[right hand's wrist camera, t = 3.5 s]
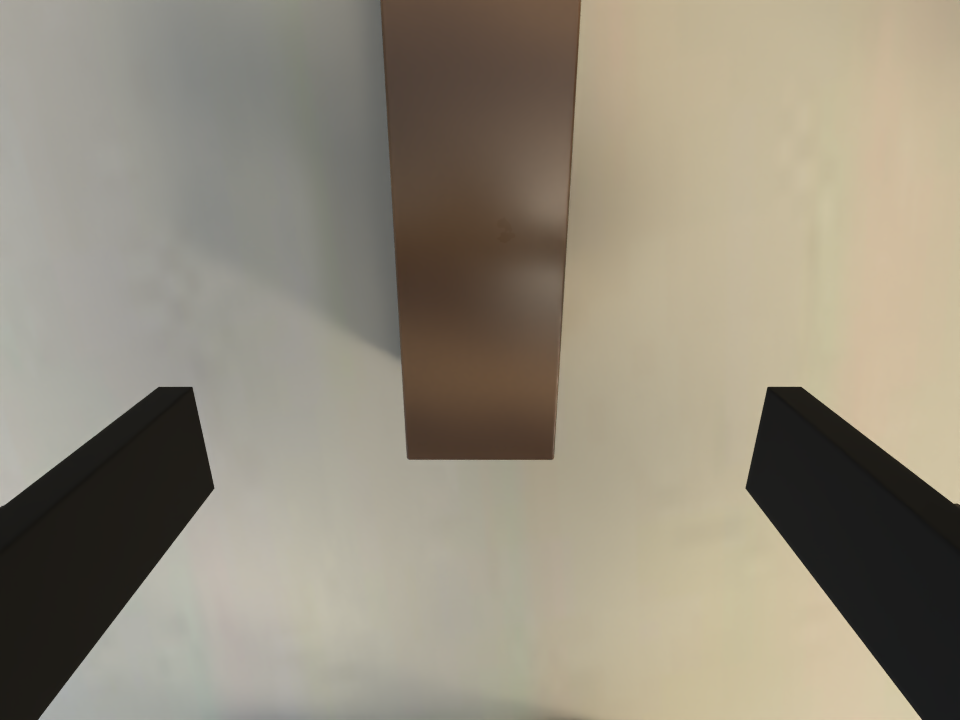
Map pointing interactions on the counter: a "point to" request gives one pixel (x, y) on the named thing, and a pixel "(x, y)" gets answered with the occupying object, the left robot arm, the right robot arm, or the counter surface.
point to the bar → (480, 218)
